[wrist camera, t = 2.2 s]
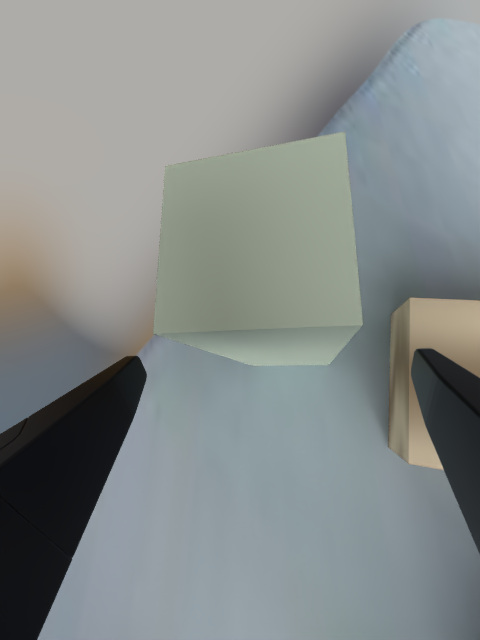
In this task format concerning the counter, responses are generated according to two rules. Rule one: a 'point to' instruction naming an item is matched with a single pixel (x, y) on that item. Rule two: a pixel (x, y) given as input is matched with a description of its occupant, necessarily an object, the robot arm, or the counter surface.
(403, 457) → the oak base block
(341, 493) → the counter surface
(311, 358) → the sage pillar
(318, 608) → the counter surface
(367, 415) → the counter surface
